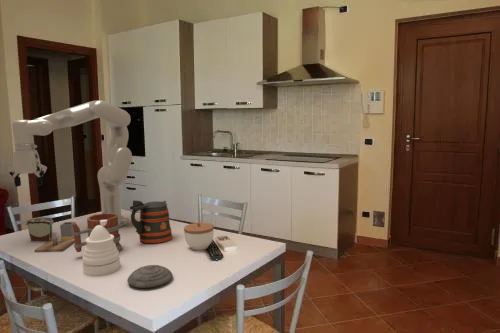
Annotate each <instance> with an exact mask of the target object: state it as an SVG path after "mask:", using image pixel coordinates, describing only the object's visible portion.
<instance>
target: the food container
mask: <svg viewBox="0 0 500 333" xmlns="http://www.w3.org/2000/svg"><path fill="white" fill-rule="evenodd" d="M25 224H26V226H27V229H28V236H29V239H30V242H31V243H32V242H33V243H35V242H36V243H37V242H38V243H39V242H40V243H46V242H48V241H53V238H52V233H53V225H54V219H53V218H52V217H37V218H31V219H27V220H26V222H25Z"/></svg>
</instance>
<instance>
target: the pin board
mask: <svg viewBox="0 0 500 333" xmlns="http://www.w3.org/2000/svg"><path fill="white" fill-rule="evenodd" d="M74 244H75V239H66V240H58V233H57V232H56V231H52V241H48V242H43V244H41V245H40V246H38V247H36V248H35V249H34V253H52V252H53V253H54V252H55V253H57V252H64V251H66V250H67V249H68V248H70V247H71V246H73V245H74Z"/></svg>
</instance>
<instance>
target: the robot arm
mask: <svg viewBox="0 0 500 333" xmlns="http://www.w3.org/2000/svg"><path fill="white" fill-rule="evenodd" d="M95 119H103V120H104V121H105V122H106V124H107V125H108V127H109V129H110V132H111V136H110V140H109V143H108V146H107V150H106V152H105V158H106V161H107V162H108V163H111V165H104V166H102V167H101V168H100V169H99V170H98V171H97V181H98V185H99V193H100V205H101V206H100V209H101V214H102V213H113V214H117V216H118V222H119V225H120V228H122V227H123V226H125V225H126V223H130V222H131V218H129V217H125V218H124V215H122V203H121V190H120V186H122V185H123V184H124V183H125V181H126V180H127V177H128V174H129V171H130V167H131V165H132V164H131V163H132V161H133V160H132V159H133V154H132V151H131V149H130V148H129V147H127V146H128V142H129V130H128V126H129V125H130V123H131V115H130V114H129V113H128V112H127V111H126V110H125V109H122V108H120V107H119V106H116V105H115V104H114V105H113V104H111V103H110V102H107V101H105V100H102V99H101V100H100V99H99V100H92V101H88V102H85V103H82V104H78V105H75V106H72V107H69V108H65V109H62V110H60V111H57V112H53V113H50V114H47V115H44V116H41V117H37V118H33V119H32V120H31V119H16V120H12V122H11V125H12V126H11V127H12V135H13V144H14V151H13V156H12V158H13V160H12V163H13V164H12V165H10V166H9V167H6V170H7V172H8V173H9V175H10V176H11V178H13V180H14V186H15V188H17V187H21V186H22V182H21V181H22V180H21V177H20V176H21V174H34V175H35V176H36V177H35V180H36V186H37V187H41V186H43V183H44V182H43V177H44V175H45V174H46V172H47V169H48V167H47V166H46V165H43V164H42V163H41V160H40V155H39V153H38V150H37V148H38V144H35V140H34V138H35V137H34V136H48V135H50V134H51V133H52V132H53V131H54V130H59V129H62V128H70V127H75V126H78V125H81V124H83V123H86V122H90V121H92V120H95Z"/></svg>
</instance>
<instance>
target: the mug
mask: <svg viewBox="0 0 500 333" xmlns="http://www.w3.org/2000/svg"><path fill="white" fill-rule="evenodd" d="M86 220H87V221H86V222H87V226H86V227H85V229H81V228H80V227H79V225H78V223H77V222H76V223H74V224H72V225H73V228H74V232H73V235H74V238H73V239H74V240H75V243H74V244H73V248H74V250H75V251H76V253H80V252H82V248H83V247H84V246H85V247H86V245H87V243H86V241H82V238H81V235H82V234H88V236H87V238H88V237H89V236H90V234H91V232H92V230H93V229H94V228H95V227H96V226H98V225H101V224H100V221H101V220H107V224H106V225H105V226H103V227H105V228H106V230H107V231H108V232H109V234H112V235H113V236H114V239H113V241H114V243H115V244H116V247H117V250H118V252H119V253H120V251H121V250H122V249H123V246H122V244H121V243H120V241H121V234H120V233H119V230H120V228H121V227H120V225H119V222H118V216H117V214H113V213H102V212H101V213H98V214H93V215H90V216H88V217H87V218H86Z"/></svg>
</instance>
